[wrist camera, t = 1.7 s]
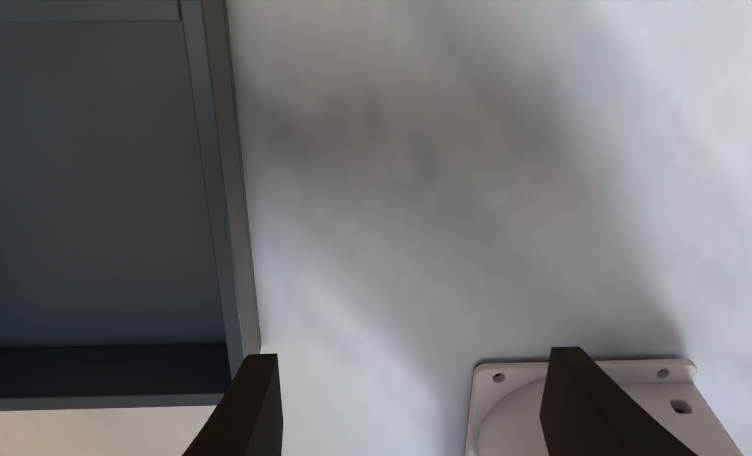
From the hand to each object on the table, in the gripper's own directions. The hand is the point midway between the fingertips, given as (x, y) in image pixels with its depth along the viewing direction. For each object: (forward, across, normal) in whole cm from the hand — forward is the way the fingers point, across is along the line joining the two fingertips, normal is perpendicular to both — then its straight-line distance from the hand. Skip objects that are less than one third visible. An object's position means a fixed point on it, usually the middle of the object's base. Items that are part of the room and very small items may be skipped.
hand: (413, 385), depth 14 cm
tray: (+10, +10, 0) cm, 14 cm away
